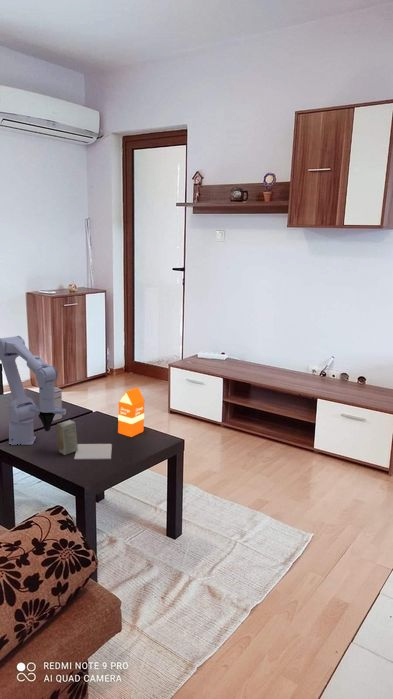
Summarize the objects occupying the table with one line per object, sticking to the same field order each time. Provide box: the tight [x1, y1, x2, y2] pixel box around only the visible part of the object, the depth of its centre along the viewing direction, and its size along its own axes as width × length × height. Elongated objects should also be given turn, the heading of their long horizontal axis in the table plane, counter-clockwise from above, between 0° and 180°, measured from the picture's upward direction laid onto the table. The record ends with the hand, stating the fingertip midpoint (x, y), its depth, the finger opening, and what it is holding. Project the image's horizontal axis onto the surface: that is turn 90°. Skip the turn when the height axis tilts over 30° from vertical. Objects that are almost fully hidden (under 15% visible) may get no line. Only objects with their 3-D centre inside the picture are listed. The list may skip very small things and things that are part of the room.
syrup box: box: [52, 387, 63, 422], centre depth 236 cm, size 6×6×14 cm
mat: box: [73, 443, 113, 460], centre depth 204 cm, size 14×14×1 cm
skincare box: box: [56, 419, 78, 456], centre depth 201 cm, size 6×4×12 cm
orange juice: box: [117, 387, 145, 438], centre depth 224 cm, size 8×9×20 cm
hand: (47, 430), depth 200 cm, fingers closed
